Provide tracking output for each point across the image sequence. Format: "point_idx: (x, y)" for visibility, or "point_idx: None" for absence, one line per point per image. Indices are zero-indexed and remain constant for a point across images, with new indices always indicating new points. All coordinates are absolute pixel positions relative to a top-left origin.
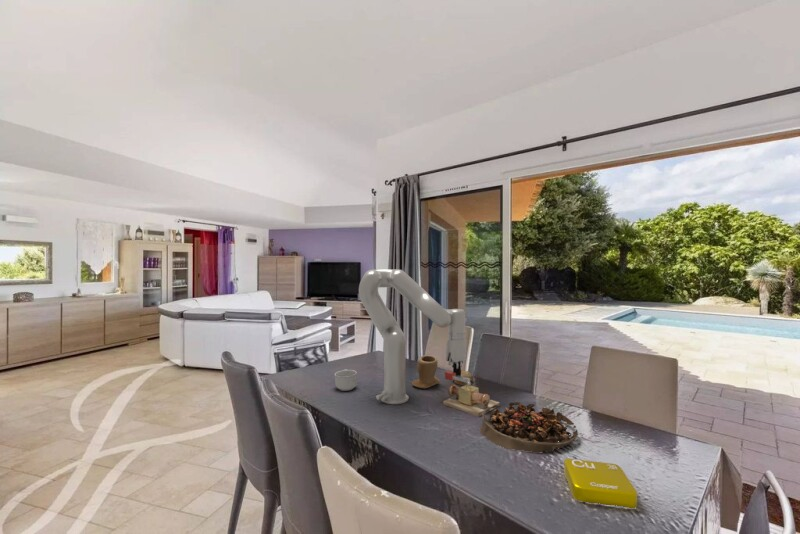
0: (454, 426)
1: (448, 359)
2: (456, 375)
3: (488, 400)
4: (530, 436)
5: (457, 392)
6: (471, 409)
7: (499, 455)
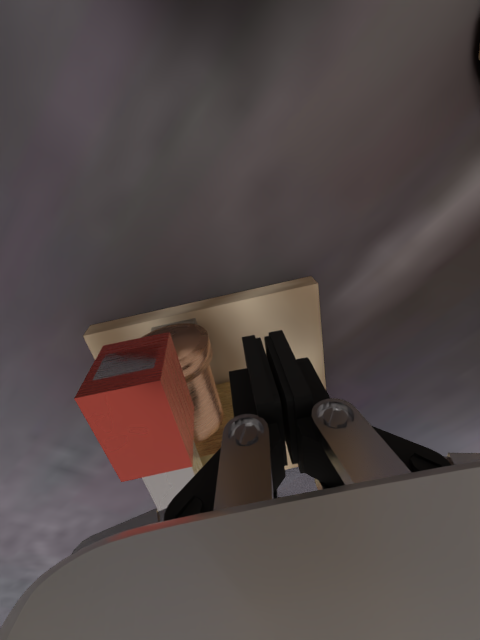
0: (18, 505)
1: (126, 580)
2: (176, 474)
3: None
4: None
5: None
6: None
7: None
